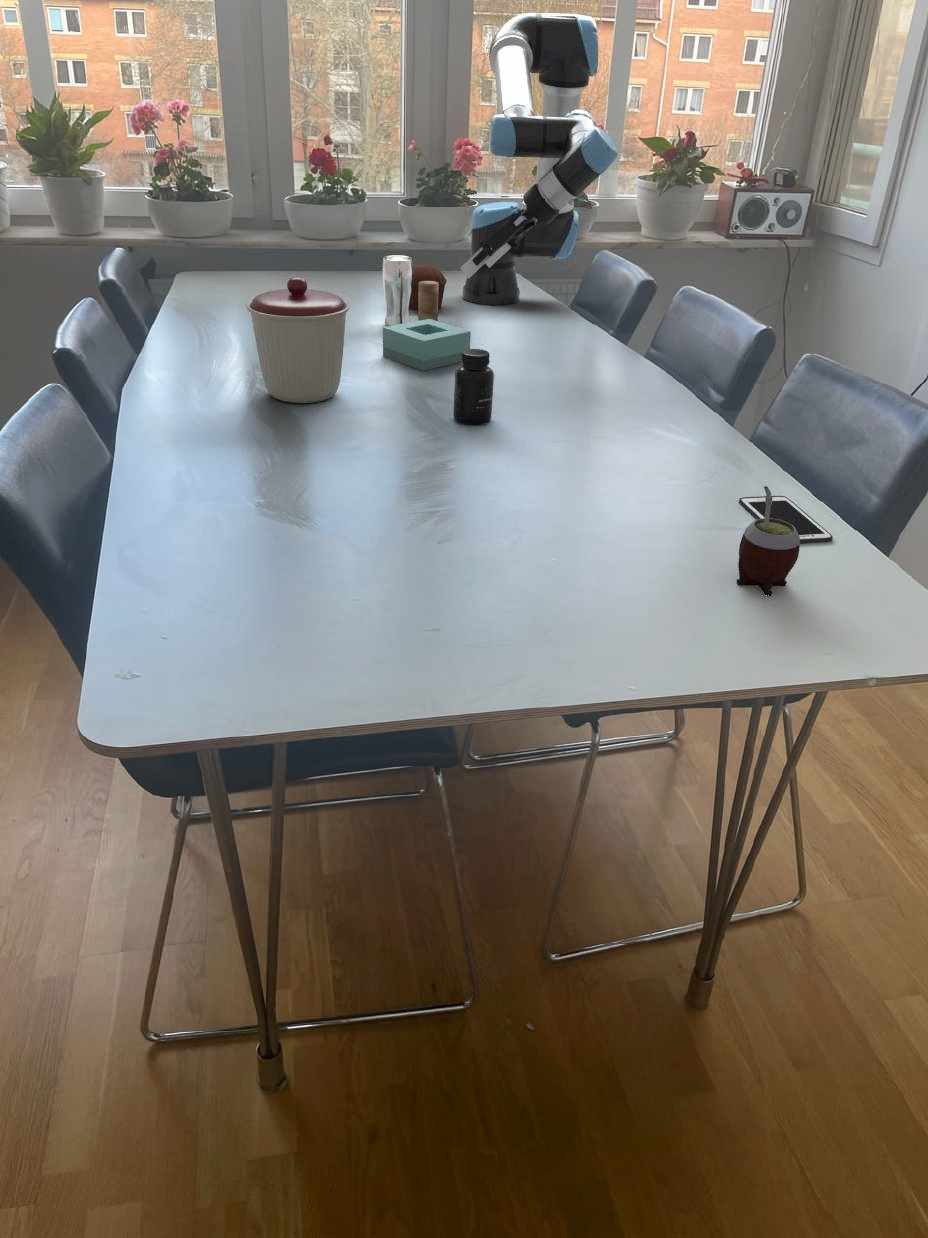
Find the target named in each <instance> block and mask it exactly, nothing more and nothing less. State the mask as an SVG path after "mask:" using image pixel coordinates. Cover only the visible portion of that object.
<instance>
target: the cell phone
mask: <svg viewBox="0 0 928 1238" xmlns="http://www.w3.org/2000/svg"><path fill="white" fill-rule="evenodd" d="M771 496H772V505H771V508H770V517H769V518H773V519H779V520H782V521H785V522H788V523H789V524H791V525H793V526H794V528H795V529H796V530H797V532H798V534H799V537H800V545H805V544H821V543H830V542H832V541H833V538H834V537H833V535H832V534H831V533H830V532H829V531H828V530H827V529H826V528H824V527H823V526H821V524H820V523H818V522H817V521H816V520H815V519H814V518H812V517H811V516H810V515H809V514H808V513H807V512H805V511H804V510H803V509H802V508H801V507H799V506H798V505H797V504H795V502H793V501H792V500H791V499H790V498H789V497H787V496H784V495H771ZM766 497H767V496H766V495H765V496H764V495H763V496H762V495H761V496H760V495H759V496H744V497H740V498H739V500H738V503H739V505H740V506H741V507H743V509H744V510H746V512H748V514H750V515H751V516H752V517H753V518H754V519H755V520H757V519H762V518H765V510H766V505H765V499H766Z"/></svg>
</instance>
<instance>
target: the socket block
mask: <svg viewBox="0 0 928 1238" xmlns="http://www.w3.org/2000/svg"><path fill="white" fill-rule="evenodd" d="M471 333H472V332H471V330H467V329H465V328H461V327H458V326H454V325H452V324H448V323H444V322H441V321H439V320H438V321H435V320H432V319H425V320H420V321H418V320H415V321H410V322H409V323H404V324H398V325H393V326H382V356H383V357H384V358H387V359H390V360H392V359H393V361H395V360H396V361H395V362H398V363H401V364H404V365H407V366H408V367H409V366H410V367H412V368H415V369H417V370H420V371H423V372H424V371H427V370H432V369H433V370H434V369H437V368H442V367H446V366H449V365H450V366H451V365H454V363H455V364H458V362H459V363H461V358H462V351H463V350H466V349H471ZM445 365H446V366H445ZM441 366H442V367H441Z"/></svg>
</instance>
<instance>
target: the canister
mask: <svg viewBox="0 0 928 1238" xmlns="http://www.w3.org/2000/svg"><path fill="white" fill-rule="evenodd" d="M245 307H246V310H247V312H249V313H250V316H251V321H252V322H251V323H252V328H253V333H254V338H255V343H256V349H257V355H258V361H259V365H260V369H261V370H260V371H261V375H262V380H263V383H264V387H265V388H266V390H267V392H268V393H269V395H271V396H272V397H273V398H275V399H276V400H279V401H282V402H284V403H285V402H287V403H292V404H293V403H294V404H311V403H319V402H322V401H325V400H329V399H330V398H332V397H334V395H335V394H336V393H337V391H338V389H339V388H340V383H341V377H342V376H341V375H342V369H343V367H342V366H343V357H344V345H345V344H344V343H345V332H346V331H345V330H346V316H347V312H348V311H349V310H350V304H349V302H348V301H346V300H345V299H343V298H342V297H341V296H339V295H337V294H334V293H333V292H328V291H324V290H319V289H312V288H311V289H310V288H308V282H307V280H306V279H305V278H303V277H300V276H299V277H298V276H294V277H290V278H289V279H288V281H287V282H286V288H285V289H275V290H269V291H266V292H263V293H260V294H257V295H256V296H254V298H253V299H251V300H249V301H248V302H246V304H245Z"/></svg>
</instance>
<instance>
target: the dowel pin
mask: <svg viewBox="0 0 928 1238" xmlns="http://www.w3.org/2000/svg"><path fill="white" fill-rule="evenodd" d="M438 287H439V283H438V282H434V281H421V282H419V292H418V311H417V315H418V316H417V321H420V320H425V319H432V320H435V321H439V320H438V319H439V309H438Z"/></svg>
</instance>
